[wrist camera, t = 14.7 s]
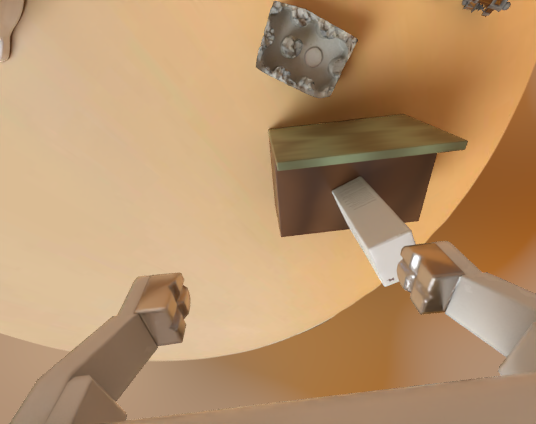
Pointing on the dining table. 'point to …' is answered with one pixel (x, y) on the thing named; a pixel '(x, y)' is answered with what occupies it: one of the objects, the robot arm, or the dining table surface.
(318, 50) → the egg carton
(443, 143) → the shelf
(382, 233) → the cosmetic box
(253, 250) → the dining table surface
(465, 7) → the wooden post with brackets
